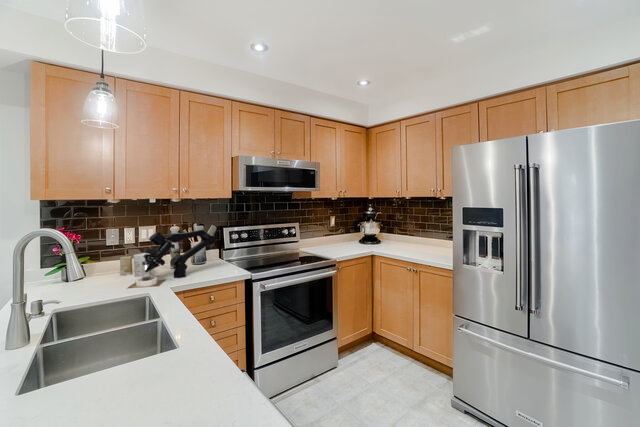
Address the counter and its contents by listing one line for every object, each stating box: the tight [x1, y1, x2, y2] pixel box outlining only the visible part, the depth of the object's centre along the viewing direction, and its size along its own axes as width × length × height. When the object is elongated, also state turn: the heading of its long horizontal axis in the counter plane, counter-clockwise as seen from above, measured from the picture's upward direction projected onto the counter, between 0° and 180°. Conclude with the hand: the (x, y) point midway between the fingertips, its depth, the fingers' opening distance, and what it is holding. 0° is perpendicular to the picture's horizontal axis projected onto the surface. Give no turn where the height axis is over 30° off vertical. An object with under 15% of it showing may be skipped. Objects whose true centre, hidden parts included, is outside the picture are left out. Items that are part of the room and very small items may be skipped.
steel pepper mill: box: [141, 261, 152, 281], centre depth 174 cm, size 5×5×12 cm
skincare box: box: [119, 256, 133, 276], centre depth 202 cm, size 6×4×12 cm
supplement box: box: [132, 252, 155, 278], centre depth 197 cm, size 9×9×15 cm
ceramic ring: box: [134, 276, 159, 288], centre depth 174 cm, size 11×11×3 cm
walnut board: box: [126, 279, 167, 289], centre depth 174 cm, size 17×15×1 cm
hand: (143, 271), depth 173 cm, fingers open, 5 cm apart
